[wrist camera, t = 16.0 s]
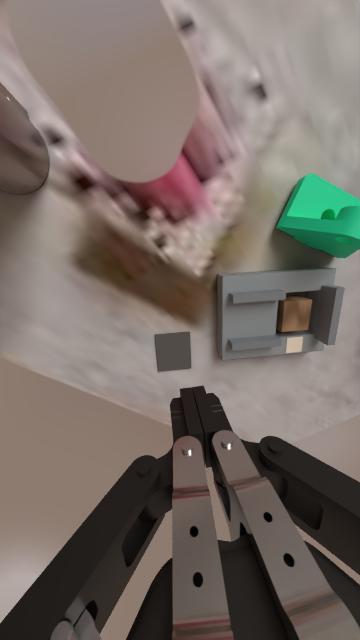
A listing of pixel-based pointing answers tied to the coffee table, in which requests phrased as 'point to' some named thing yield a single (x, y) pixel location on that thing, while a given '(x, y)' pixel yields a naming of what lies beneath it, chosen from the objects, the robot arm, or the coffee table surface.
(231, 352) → the rail board
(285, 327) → the block
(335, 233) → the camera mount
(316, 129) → the coffee table surface
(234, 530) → the robot arm
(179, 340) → the mat
